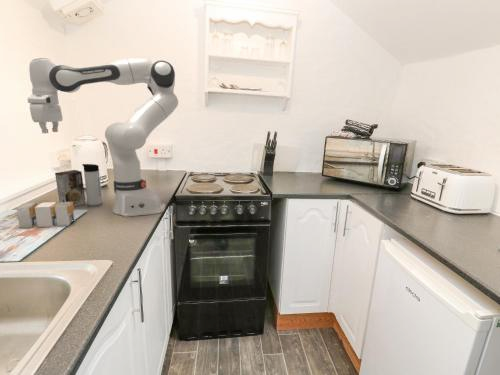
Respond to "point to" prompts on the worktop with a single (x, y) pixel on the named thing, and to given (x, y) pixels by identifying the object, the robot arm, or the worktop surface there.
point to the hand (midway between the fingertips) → (50, 132)
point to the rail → (61, 219)
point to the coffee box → (70, 187)
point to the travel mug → (92, 185)
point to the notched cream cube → (45, 214)
